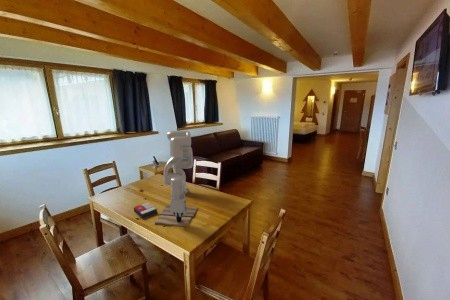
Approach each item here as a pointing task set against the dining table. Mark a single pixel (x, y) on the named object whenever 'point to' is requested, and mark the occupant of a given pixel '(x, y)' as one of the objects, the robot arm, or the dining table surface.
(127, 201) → the dining table surface
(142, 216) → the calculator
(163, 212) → the laid row
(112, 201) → the dining table surface
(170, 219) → the plank
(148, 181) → the dining table surface
